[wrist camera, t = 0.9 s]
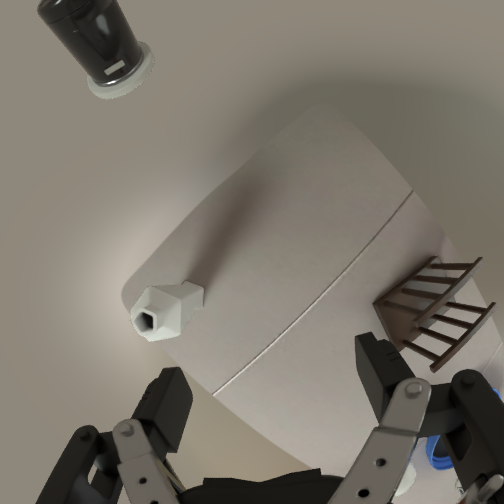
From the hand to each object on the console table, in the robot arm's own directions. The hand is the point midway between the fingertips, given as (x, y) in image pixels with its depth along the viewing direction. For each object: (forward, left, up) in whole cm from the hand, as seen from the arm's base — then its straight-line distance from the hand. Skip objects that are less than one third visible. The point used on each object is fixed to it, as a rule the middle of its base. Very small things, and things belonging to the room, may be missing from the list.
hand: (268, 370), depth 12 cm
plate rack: (+12, +18, -22) cm, 31 cm away
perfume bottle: (-5, -7, -22) cm, 23 cm away
